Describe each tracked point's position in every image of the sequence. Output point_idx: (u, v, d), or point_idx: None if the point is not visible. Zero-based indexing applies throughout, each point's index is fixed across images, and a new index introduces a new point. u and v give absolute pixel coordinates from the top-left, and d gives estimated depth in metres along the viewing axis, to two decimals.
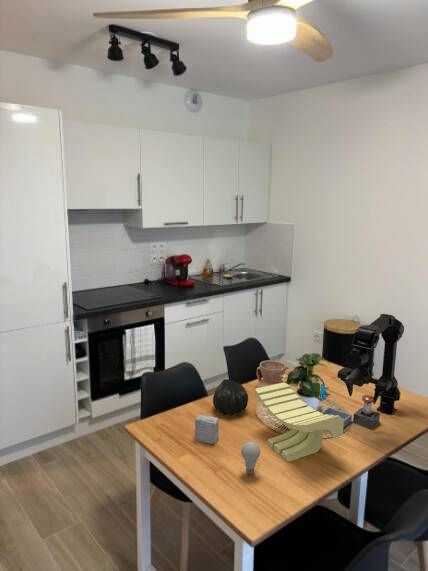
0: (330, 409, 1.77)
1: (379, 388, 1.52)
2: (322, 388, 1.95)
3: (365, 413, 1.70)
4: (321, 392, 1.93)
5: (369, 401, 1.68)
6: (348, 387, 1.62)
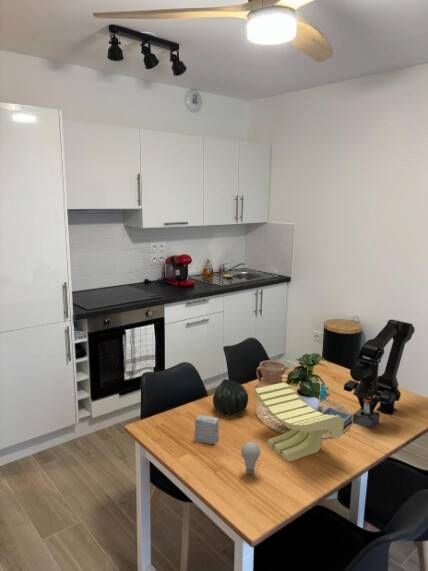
0: (330, 409, 1.77)
1: (383, 401, 1.62)
2: (322, 388, 1.95)
3: (365, 413, 1.70)
4: (321, 392, 1.93)
5: (369, 401, 1.68)
6: (360, 401, 1.71)
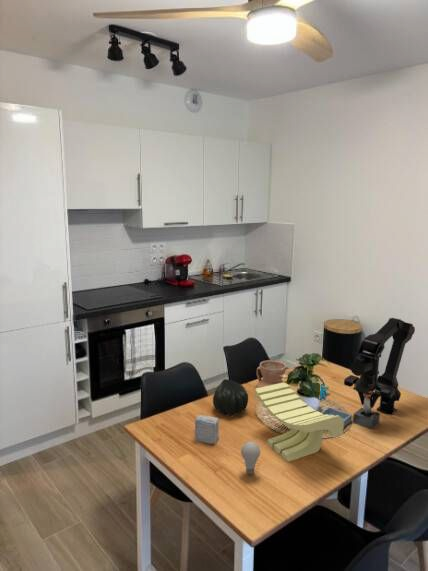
0: (330, 409, 1.77)
1: (383, 395, 1.62)
2: (322, 388, 1.95)
3: (365, 408, 1.69)
4: (321, 392, 1.93)
5: (369, 396, 1.67)
6: (360, 396, 1.70)
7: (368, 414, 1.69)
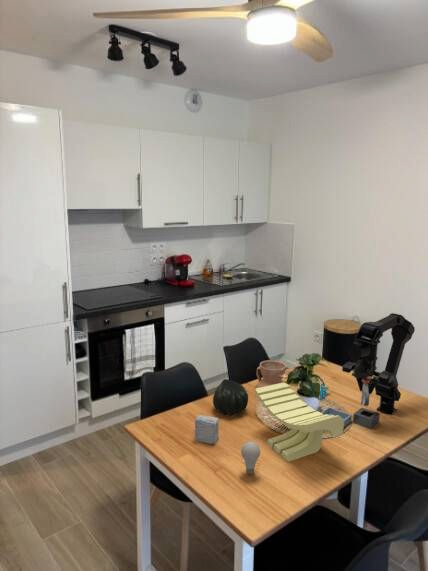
0: (330, 409, 1.77)
1: (382, 381, 1.61)
2: (322, 388, 1.95)
3: (364, 394, 1.68)
4: (320, 392, 1.93)
5: (368, 382, 1.66)
6: (359, 382, 1.69)
7: (366, 400, 1.68)
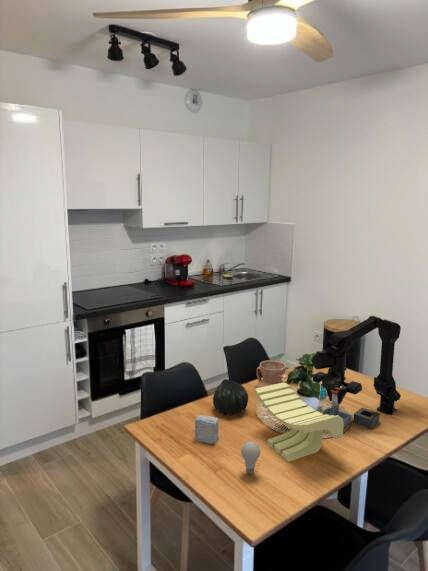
0: (330, 409, 1.77)
1: (350, 391, 1.62)
2: (322, 388, 1.95)
3: (333, 404, 1.69)
4: (320, 392, 1.94)
5: (337, 392, 1.67)
6: (328, 392, 1.70)
7: (336, 410, 1.69)
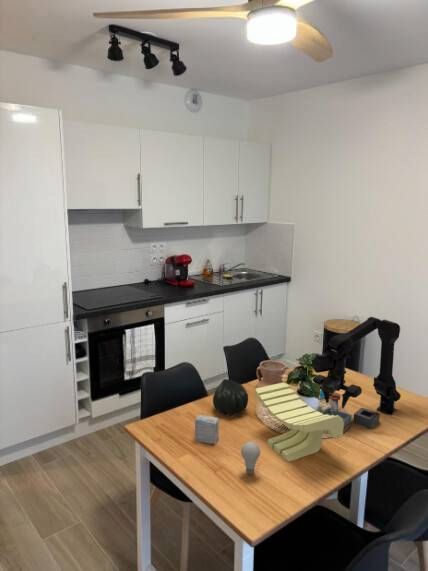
0: None
1: (349, 395, 1.62)
2: None
3: (332, 411, 1.70)
4: (320, 391, 1.94)
5: (335, 399, 1.68)
6: (325, 394, 1.71)
7: None
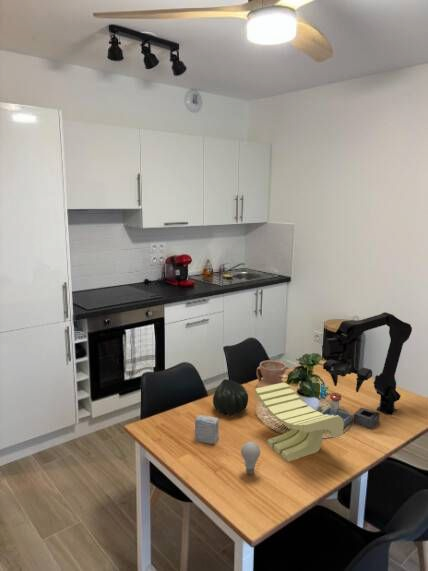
0: (330, 409, 1.77)
1: (361, 377, 1.65)
2: (321, 387, 1.95)
3: (332, 411, 1.70)
4: None
5: (336, 399, 1.68)
6: (333, 377, 1.75)
7: None
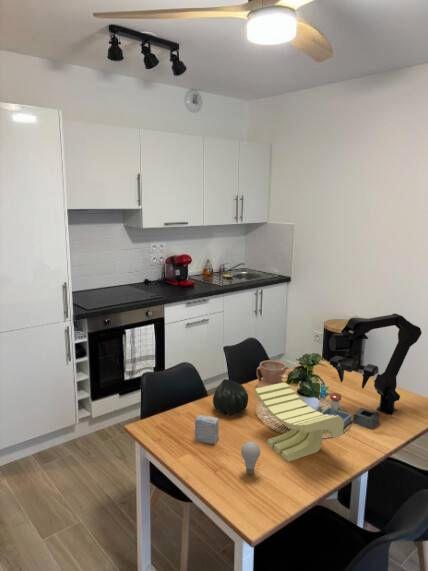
0: (330, 409, 1.77)
1: (367, 373, 1.68)
2: (321, 387, 1.95)
3: (332, 411, 1.70)
4: None
5: (336, 399, 1.68)
6: (339, 373, 1.78)
7: None
